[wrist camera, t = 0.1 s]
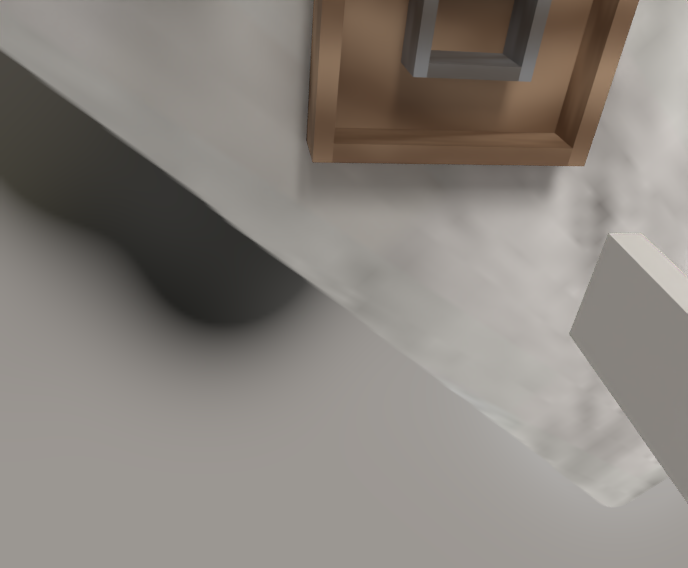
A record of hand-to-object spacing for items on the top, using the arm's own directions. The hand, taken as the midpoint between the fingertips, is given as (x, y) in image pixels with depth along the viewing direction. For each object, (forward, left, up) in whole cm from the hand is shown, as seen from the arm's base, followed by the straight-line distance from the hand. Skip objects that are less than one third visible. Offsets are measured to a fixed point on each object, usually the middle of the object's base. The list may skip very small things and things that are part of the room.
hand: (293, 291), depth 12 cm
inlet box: (-1, +13, -28) cm, 31 cm away
